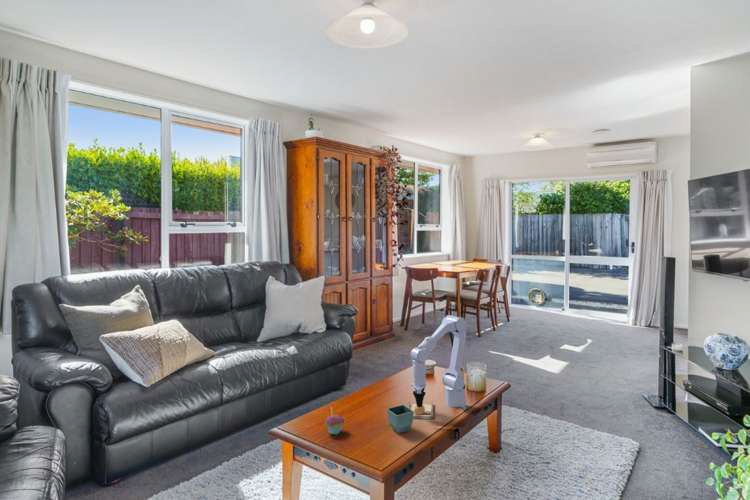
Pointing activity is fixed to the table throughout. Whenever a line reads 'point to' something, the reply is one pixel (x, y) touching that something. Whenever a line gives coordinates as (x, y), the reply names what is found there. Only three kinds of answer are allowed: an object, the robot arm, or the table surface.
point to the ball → (419, 410)
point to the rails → (423, 415)
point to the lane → (427, 406)
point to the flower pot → (400, 418)
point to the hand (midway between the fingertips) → (419, 403)
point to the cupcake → (334, 423)
